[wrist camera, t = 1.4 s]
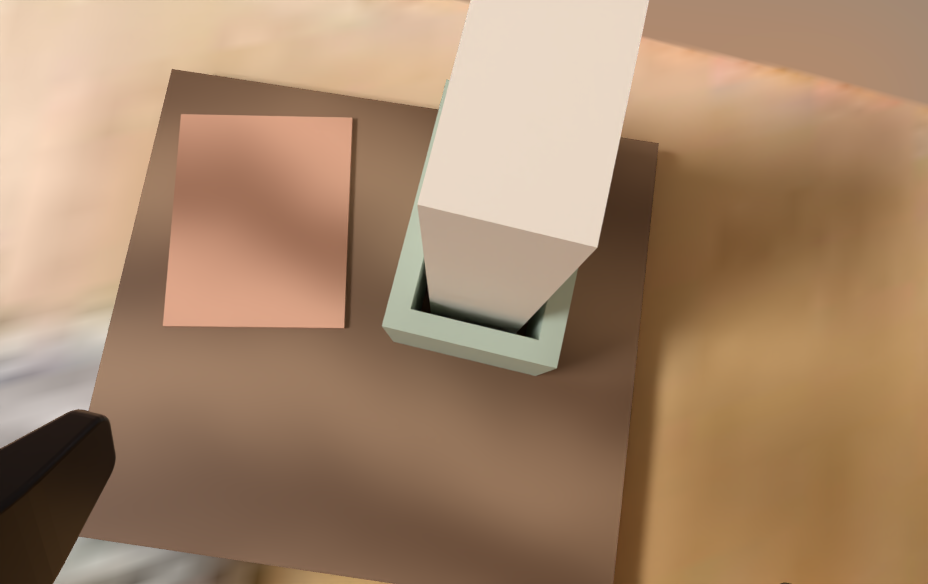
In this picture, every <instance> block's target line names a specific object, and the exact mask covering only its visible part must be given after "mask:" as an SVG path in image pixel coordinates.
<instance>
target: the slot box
mask: <svg viewBox="0 0 928 584" xmlns="http://www.w3.org/2000/svg"><path fill="white" fill-rule="evenodd" d="M449 81H450V80H446V84H445V88H444V91H443V95H442V99H441V103H440V107H439V110H438V114H437V118H436V122H435V126H434V129H433V133H432V137H431V141H430V145H429V148H428V152H427V156H426V160H425V164H424V167H423V171H422V175H421V179H420V183H419V187H418V190H417V194H416V198H415V202H414V206H413V209H412V213H411V217H410V221H409V225H408V228H407V232H406V236H405V240H404V244H403V247H402V251H401V255H400V259H399V263H398V266H397V270H396V274H395V278H394V282H393V285H392V289H391V293H390V297H389V301H388V304H387V308H386V312H385V316H384V320H383V323H382V327H383V328H384V330H385V331H386V332H387V334H388V335H389V336H390V338H391V339H392V341H393V342H397V343H401V344H405V345H409V346H413V347H418V348H422V349H426V350H430V351H434V352H438V353H442V354H446V355H451V356H455V357H459V358H463V359H467V360H471V361H475V362H480V363H484V364H488V365H492V366H496V367H500V368H504V369H508V370H513V371H517V372H521V373H525V374H529V375H533V376H537V375H540V374H543V373H545V372H548V371H551V370H554V369H557V365H558V361H559V356H560V351H561V347H562V342H563V337H564V333H565V328H566V323H567V318H568V314H569V309H570V304H571V300H572V295H573V290H574V286H575V281H576V276H577V271H578V268H577V269H576V271H575V272H574V273H573V274H572V275H571V276H570V277H569V278H568V279H567V280H566V281H565V282H564V283H563V284H562V285H561V286H560V287H559V288H558V289H557V291H556V292H555V293H554V294H553V295H552V296H551V297H550V298H549V299H548V300H547V301H546V302H545V303H544V304H543V305H542V306H541V307H540V308H539V309H538V311H537V312H536V313H535V314H534V315H533V316H532V317H531V318H530V319H529V320H528V325H527V329H526V334H525V337H524V336H520V335H516V334H512V333H508V332H503V331H499V330H495V329H491V328H487V327H483V326H479V325H474V324H470V323H466V322H462V321H458V320H454V319H450V318H445V317H441V316H437V315H433V314H429V313H425V312H421V308H422V304H423V300H424V296H425V292H426V288H427V277H426V269H425V261H424V253H423V245H422V238H421V230H420V222H419V214H418V206H417V204H418V200H419V196H420V192H421V188H422V184H423V181H424V177H425V173H426V169H427V165H428V162H429V158H430V154H431V150H432V146H433V142H434V139H435V135H436V131H437V127H438V123H439V120H440V116H441V112H442V108H443V104H444V100H445V97H446V93H447V89H448V85H449Z"/></svg>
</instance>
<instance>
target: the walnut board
mask: <svg viewBox="0 0 928 584" xmlns="http://www.w3.org/2000/svg"><path fill="white" fill-rule="evenodd" d="M437 114H438V110H437V109H430V108H424V107H417V106H410V105H404V104H397V103H391V102H384V101H378V100H371V99H365V98H358V97H351V96H345V95H338V94H332V93H325V92H319V91H312V90H306V89H299V88H292V87H286V86H279V85H273V84H266V83H260V82H253V81H246V80H240V79H233V78H227V77H220V76H214V75H207V74H201V73H194V72H187V71H181V70H174V69H172V71H171V75H170V79H169V83H168V88H167V92H166V96H165V100H164V104H163V108H162V112H161V116H160V120H159V124H158V129H157V133H156V137H155V141H154V145H153V149H152V153H151V157H150V161H149V165H148V170H147V174H146V178H145V182H144V186H143V190H142V194H141V198H140V202H139V206H138V211H137V215H136V219H135V223H134V227H133V231H132V235H131V239H130V243H129V248H128V252H127V256H126V260H125V264H124V268H123V272H122V276H121V280H120V284H119V289H118V293H117V297H116V301H115V305H114V309H113V313H112V317H111V321H110V325H109V330H108V334H107V338H106V342H105V346H104V350H103V354H102V358H101V362H100V366H99V371H98V375H97V379H96V383H95V387H94V391H93V395H92V399H91V403H90V407H89V411H90V412H94V413H98V414H102V415H105V416H106V417H107V418H108V419H109V421H110V424H111V430H112V436H113V442H114V448H115V453H116V460H115V466H114V469H113V471H112V474H111V476H110V478H109V480H108V481H107V483H106V485H105V487H104V489H103V491H102V493H101V495H100V497H99V499H98V500H97V502H96V504H95V506H94V508H93V510H92V512H91V514H90V516H89V518H88V519H87V521H86V523H85V525H84V527H83V529H82V531H81V533H80V535H79V537H86V538H92V539H99V540H106V541H112V542H119V543H126V544H132V545H139V546H146V547H152V548H159V549H166V550H173V551H179V552H186V553H193V554H199V555H206V556H213V557H219V558H226V559H233V560H239V561H246V562H253V563H259V564H266V565H273V566H279V567H286V568H293V569H300V570H306V571H313V572H320V573H326V574H333V575H340V576H346V577H353V578H360V579H366V580H373V581H380V582H386V583H393V584H613V583H614V573H615V563H616V553H617V544H618V534H619V524H620V514H621V505H622V495H623V485H624V475H625V466H626V456H627V446H628V436H629V427H630V417H631V407H632V397H633V388H634V378H635V368H636V358H637V349H638V339H639V329H640V319H641V310H642V300H643V290H644V280H645V271H646V261H647V251H648V241H649V232H650V222H651V212H652V202H653V193H654V183H655V173H656V163H657V154H658V144H659V143H653V142H646V141H640V140H633V139H627V138H620V141H619V146H618V151H617V156H616V160H615V165H614V170H613V175H612V180H611V184H610V189H609V194H608V199H607V204H606V208H605V213H604V218H603V223H602V227H601V232H600V237H599V242H598V247H597V248H596V249H595V251H594V252H593V253H592V254H591V255H590V256H589V257H588V258H587V259H586V260H585V261H584V262H583V263H582V264H581V265H580V266H579V267H578V271H577V276H576V281H575V286H574V290H573V295H572V300H571V304H570V309H569V314H568V318H567V323H566V328H565V333H564V337H563V342H562V347H561V351H560V356H559V361H558V365H557V369H554V370H551V371H548V372H545V373H543V374H540V375H537V376H533V375H529V374H525V373H521V372H517V371H513V370H508V369H504V368H500V367H496V366H492V365H488V364H484V363H480V362H475V361H471V360H467V359H463V358H459V357H455V356H451V355H446V354H442V353H438V352H434V351H430V350H426V349H422V348H418V347H413V346H409V345H405V344H401V343H397V342H393V341H392V339H391V338H390V336H389V335H388V334H387V332H386V331H385V330H384V328H383V327H382V323H383V320H384V316H385V312H386V308H387V304H388V301H389V297H390V293H391V289H392V285H393V282H394V278H395V274H396V270H397V266H398V263H399V259H400V255H401V251H402V247H403V244H404V240H405V236H406V232H407V228H408V225H409V221H410V217H411V213H412V209H413V206H414V202H415V198H416V194H417V190H418V187H419V183H420V179H421V175H422V171H423V167H424V164H425V160H426V156H427V152H428V148H429V145H430V141H431V137H432V133H433V129H434V126H435V122H436V118H437ZM421 312H425V313H429V314H431V308H430V300H429V292H428V284H427V288H426V292H425V296H424V300H423V304H422V308H421ZM527 325H528V321H527V322H526V323H525V324H524V325H523V326H522V327H521V328H520V329H519V331H518V332H517V333H516V335H520V336H524V337H525V334H526V329H527Z"/></svg>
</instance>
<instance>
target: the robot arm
mask: <svg viewBox="0 0 928 584" xmlns="http://www.w3.org/2000/svg"><path fill="white" fill-rule="evenodd" d="M115 460H116V453H115V448H114V442H113V436H112V430H111V424H110V421H109V419H108V418H107V417H106V416H105V415H102V414H98V413H94V412H90V411H86V410H79V409H78V410H73V411H70V412H68V413H66V414H64V415H62V416H60V417H58V418H56V419H55V420H53V421H51V422H49V423H47V424H45V425H43V426H42V427H40V428H38V429H36V430H34V431H32V432H30V433H28V434H27V435H25V436H23V437H21V438H19V439H17V440H15V441H14V442H12V443H10V444H8V445H6V446H4V447H2V448H0V584H53V582H54V581H55V579H56V577H57V576H58V574H59V572H60V570H61V568H62V567H63V565H64V563H65V561H66V559H67V557H68V555H69V554H70V552H71V550H72V548H73V546H74V544H75V542H76V540H77V538H78V536H79V535H80V533H81V531H82V529H83V527H84V525H85V523H86V521H87V519H88V518H89V516H90V514H91V512H92V510H93V508H94V506H95V504H96V502H97V500H98V499H99V497H100V495H101V493H102V491H103V489H104V487H105V485H106V483H107V481H108V480H109V478H110V476H111V474H112V471H113V469H114V466H115ZM781 584H790V583H781Z"/></svg>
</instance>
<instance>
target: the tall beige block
mask: <svg viewBox="0 0 928 584" xmlns="http://www.w3.org/2000/svg"><path fill="white" fill-rule="evenodd" d="M648 3H649V0H471V1H470V5H469V9H468V13H467V16H466V20H465V24H464V28H463V32H462V36H461V39H460V43H459V47H458V51H457V55H456V58H455V62H454V66H453V70H452V74H451V78H450V81H449V85H448V89H447V93H446V97H445V100H444V104H443V108H442V112H441V116H440V120H439V123H438V127H437V131H436V135H435V139H434V142H433V146H432V150H431V154H430V158H429V162H428V165H427V169H426V173H425V177H424V181H423V184H422V188H421V192H420V196H419V200H418V204H417V206H418V214H419V222H420V230H421V238H422V245H423V253H424V261H425V269H426V277H427V284H428V292H429V300H430V308H431V314H433V315H437V316H441V317H445V318H450V319H454V320H458V321H462V322H466V323H470V324H474V325H479V326H483V327H487V328H491V329H495V330H499V331H503V332H508V333H512V334H516V333H517V332H518V331H519V329H520V328H521V327H522V326H523V325H524V324H525V323H526V322H527V321H528V320H529V319H530V318H531V317H532V316H533V315H534V314H535V313H536V312H537V311H538V309H539V308H540V307H541V306H542V305H543V304H544V303H545V302H546V301H547V300H548V299H549V298H550V297H551V296H552V295H553V294H554V293H555V292H556V291H557V289H558V288H559V287H560V286H561V285H562V284H563V283H564V282H565V281H566V280H567V279H568V278H569V277H570V276H571V275H572V274H573V273H574V272H575V271H576V269H577V268H578V267H579V266H580V265H581V264H582V263H583V262H584V261H585V260H586V259H587V258H588V257H589V256H590V255H591V254H592V253H593V252H594V251H595V249H596V248H597V247H598V242H599V237H600V232H601V227H602V223H603V218H604V213H605V208H606V204H607V199H608V194H609V189H610V184H611V180H612V175H613V170H614V165H615V160H616V156H617V151H618V146H619V141H620V137H621V132H622V127H623V122H624V117H625V113H626V108H627V103H628V98H629V94H630V89H631V84H632V79H633V74H634V70H635V65H636V60H637V55H638V50H639V46H640V41H641V36H642V31H643V27H644V21H645V17H646V12H647V7H648Z"/></svg>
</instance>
